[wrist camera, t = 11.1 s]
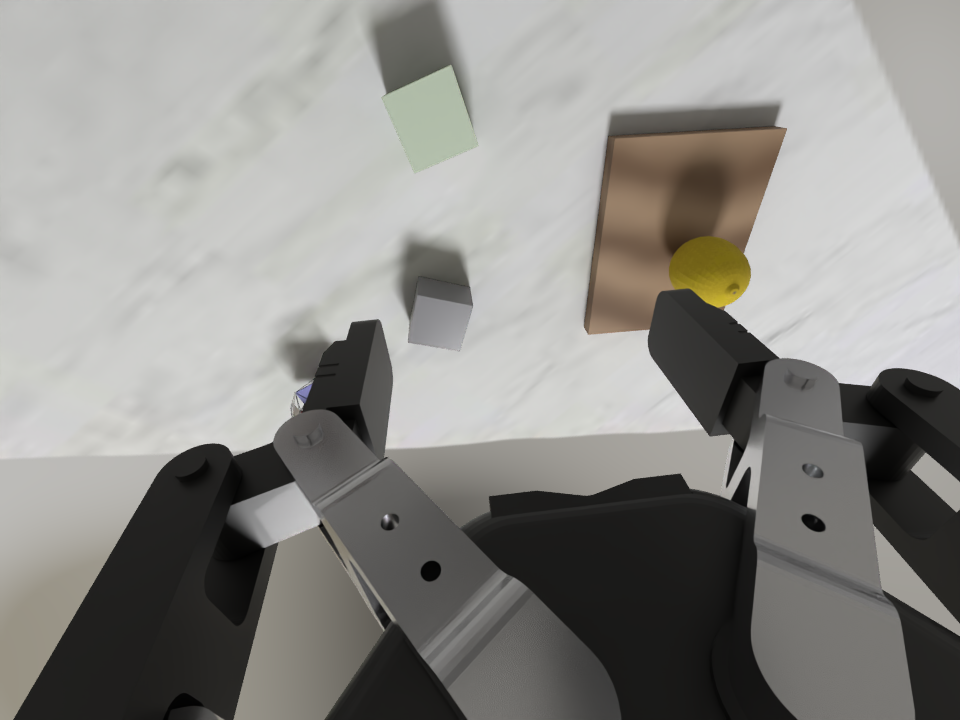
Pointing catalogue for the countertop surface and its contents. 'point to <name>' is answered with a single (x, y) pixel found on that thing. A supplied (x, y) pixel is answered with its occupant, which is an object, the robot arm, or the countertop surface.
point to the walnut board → (670, 211)
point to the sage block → (431, 119)
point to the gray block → (440, 314)
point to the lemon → (710, 270)
